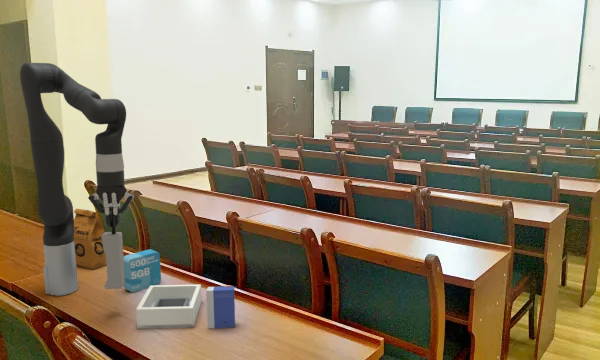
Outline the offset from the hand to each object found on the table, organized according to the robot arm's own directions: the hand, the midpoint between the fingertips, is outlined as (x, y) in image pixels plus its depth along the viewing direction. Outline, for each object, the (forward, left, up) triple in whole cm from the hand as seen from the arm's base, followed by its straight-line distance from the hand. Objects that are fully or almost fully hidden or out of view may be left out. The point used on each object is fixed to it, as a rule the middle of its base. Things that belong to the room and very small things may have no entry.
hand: (113, 226), depth 145 cm
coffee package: (-23, +42, -28) cm, 56 cm away
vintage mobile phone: (-1, 0, -19) cm, 19 cm away
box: (+16, -2, -28) cm, 32 cm away
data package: (+2, +20, -28) cm, 34 cm away
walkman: (+32, -10, -28) cm, 44 cm away
